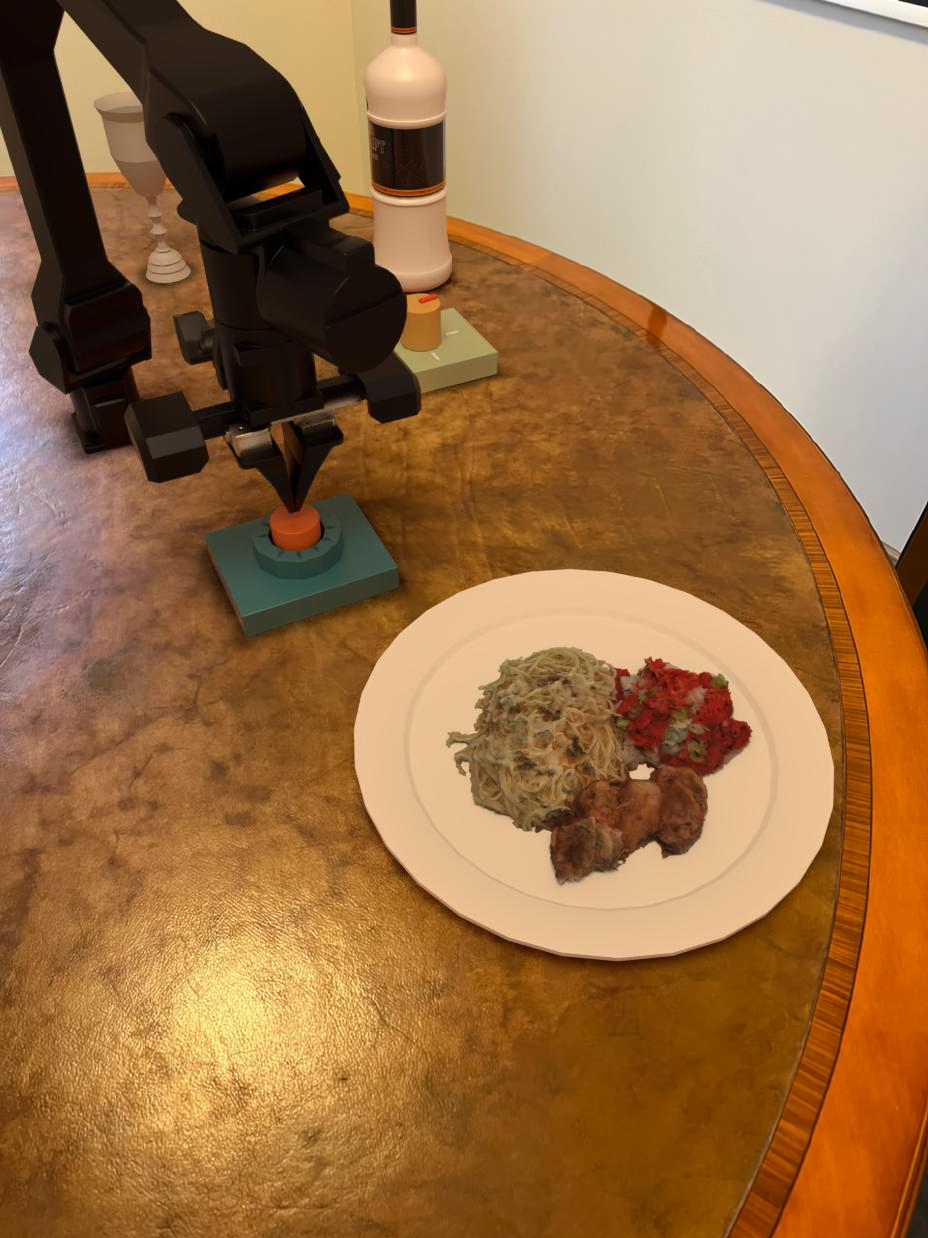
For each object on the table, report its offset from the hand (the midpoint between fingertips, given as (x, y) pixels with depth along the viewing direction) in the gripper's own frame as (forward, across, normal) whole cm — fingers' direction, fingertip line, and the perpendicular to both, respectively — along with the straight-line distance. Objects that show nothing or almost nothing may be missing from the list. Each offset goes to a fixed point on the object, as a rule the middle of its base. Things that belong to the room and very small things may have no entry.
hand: (292, 509), depth 68 cm
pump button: (+2, 0, 0) cm, 3 cm away
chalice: (+6, -3, -55) cm, 55 cm away
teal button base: (+6, 0, 0) cm, 6 cm away
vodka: (+6, -28, -42) cm, 51 cm away
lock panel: (+6, -21, -24) cm, 32 cm away
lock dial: (+4, -21, -24) cm, 32 cm away
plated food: (+6, -11, +24) cm, 27 cm away
